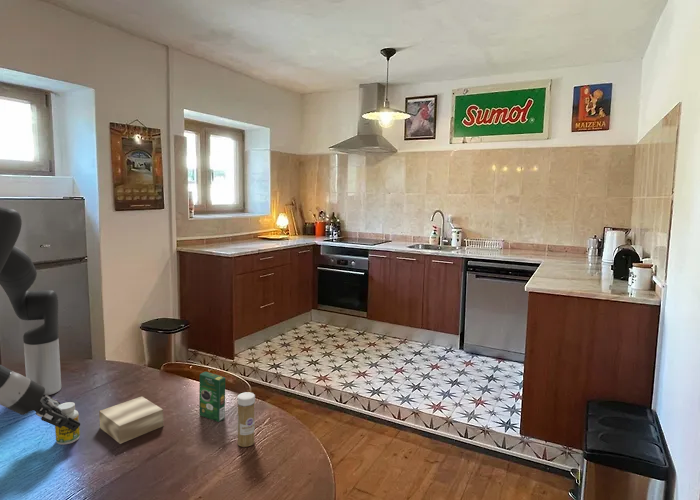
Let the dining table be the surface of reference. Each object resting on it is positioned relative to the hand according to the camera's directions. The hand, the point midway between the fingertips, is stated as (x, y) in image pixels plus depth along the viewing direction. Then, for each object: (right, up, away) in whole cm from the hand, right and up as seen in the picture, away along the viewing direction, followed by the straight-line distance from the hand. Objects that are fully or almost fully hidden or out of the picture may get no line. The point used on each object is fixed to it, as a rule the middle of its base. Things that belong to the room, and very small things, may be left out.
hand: (75, 422), depth 119 cm
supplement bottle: (-1, -5, -1) cm, 5 cm away
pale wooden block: (+12, -4, +7) cm, 14 cm away
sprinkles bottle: (+45, -6, +1) cm, 46 cm away
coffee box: (+33, -4, +13) cm, 35 cm away
